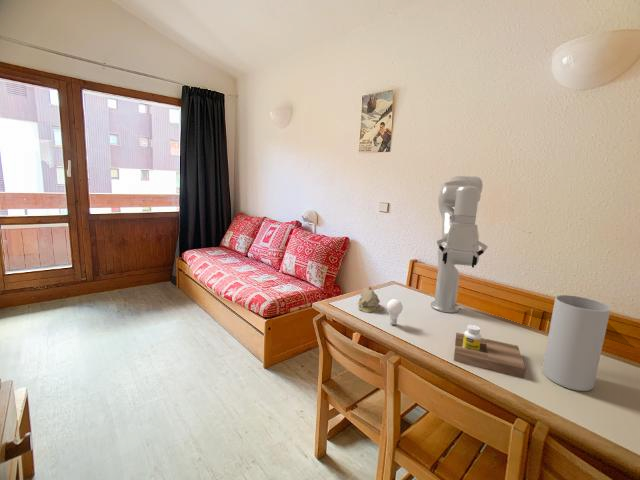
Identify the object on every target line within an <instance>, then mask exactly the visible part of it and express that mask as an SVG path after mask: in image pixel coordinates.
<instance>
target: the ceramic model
mask: <svg viewBox="0 0 640 480" xmlns="http://www.w3.org/2000/svg"><path fill="white" fill-rule="evenodd" d="M374 291H375V290H373V288H372V287H371V286H366V287H364V288H363V289H362V290H361V293H360V295H359V296H360V298H359V300H358V303H357V304H358V310H359V309H360V311H361V310H362V312H364V313H367V312H368V314H370V313H376V311H379V312H381V311H380V310H382V306H381V304H380V302H381V301H380V299H379V296H378V295H377V294H376V293H375V292H374Z"/></svg>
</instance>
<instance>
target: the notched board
mask: <svg viewBox="0 0 640 480" xmlns="http://www.w3.org/2000/svg"><path fill="white" fill-rule="evenodd" d="M463 339H464V333H461V332H456V333H455V341H454V352H453V353H454V354H453V361H454V362H459V363H463V364H466V365H471V366H474V367H478V368H483V369H486V370H491V371H494V372H497V373H498V372H499V373H502V374H506V375H510V376H515V377H518V378H522V379H524V378H525V375H526V374H525V373H526V367H525V363H524V360H523V356H522V354H521V351H520V347H519V346H518V345H517V344H512V343H507V342H502V341H498V340H493V339H489V338H484V337H481V343H480V349H479V351H476V350H471V349H467V348H463V347H462V346H463Z"/></svg>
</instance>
